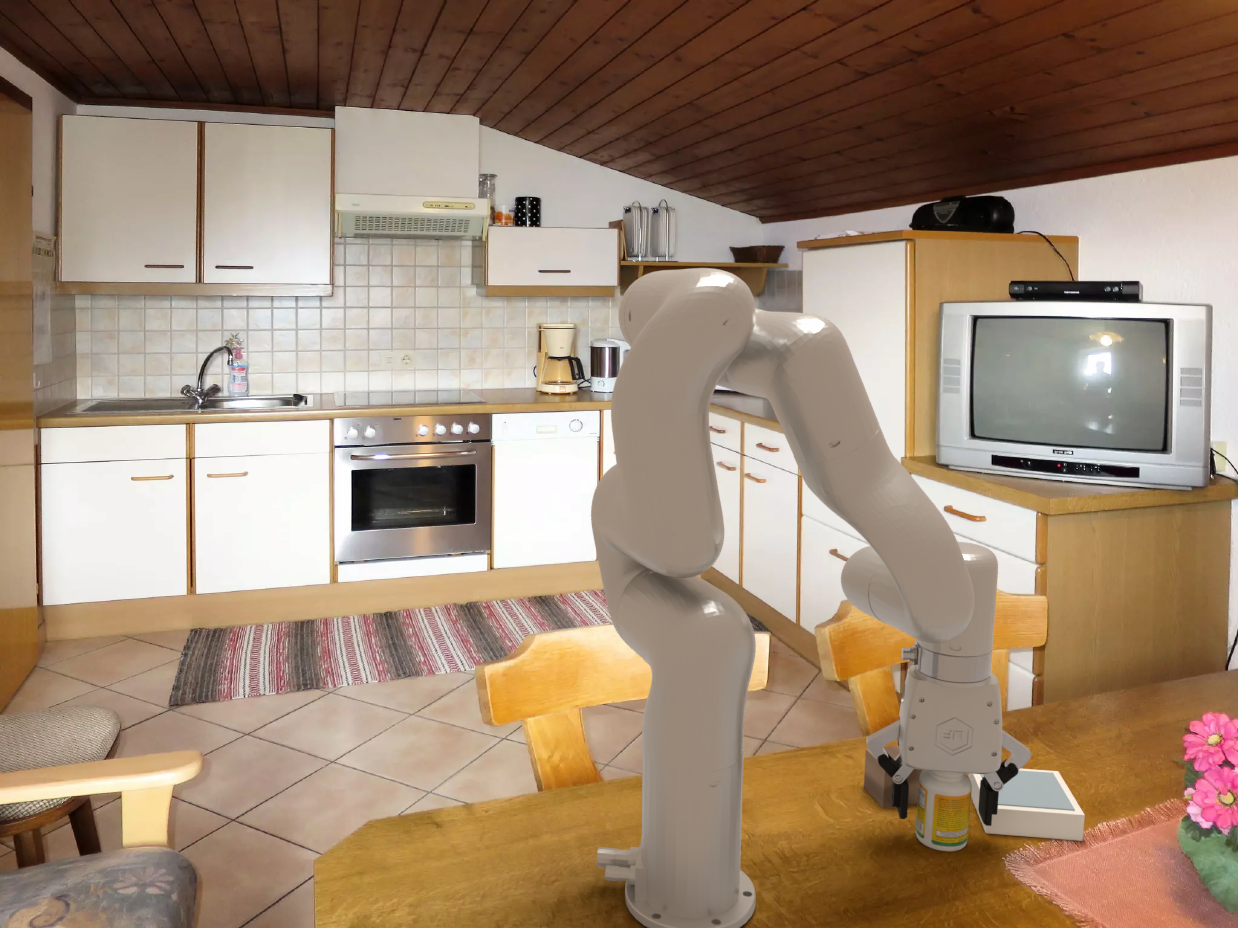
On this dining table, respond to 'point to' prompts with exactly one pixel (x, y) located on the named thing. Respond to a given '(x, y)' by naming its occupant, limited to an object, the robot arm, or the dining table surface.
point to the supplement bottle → (943, 810)
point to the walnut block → (887, 780)
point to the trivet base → (1034, 806)
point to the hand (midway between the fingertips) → (942, 815)
